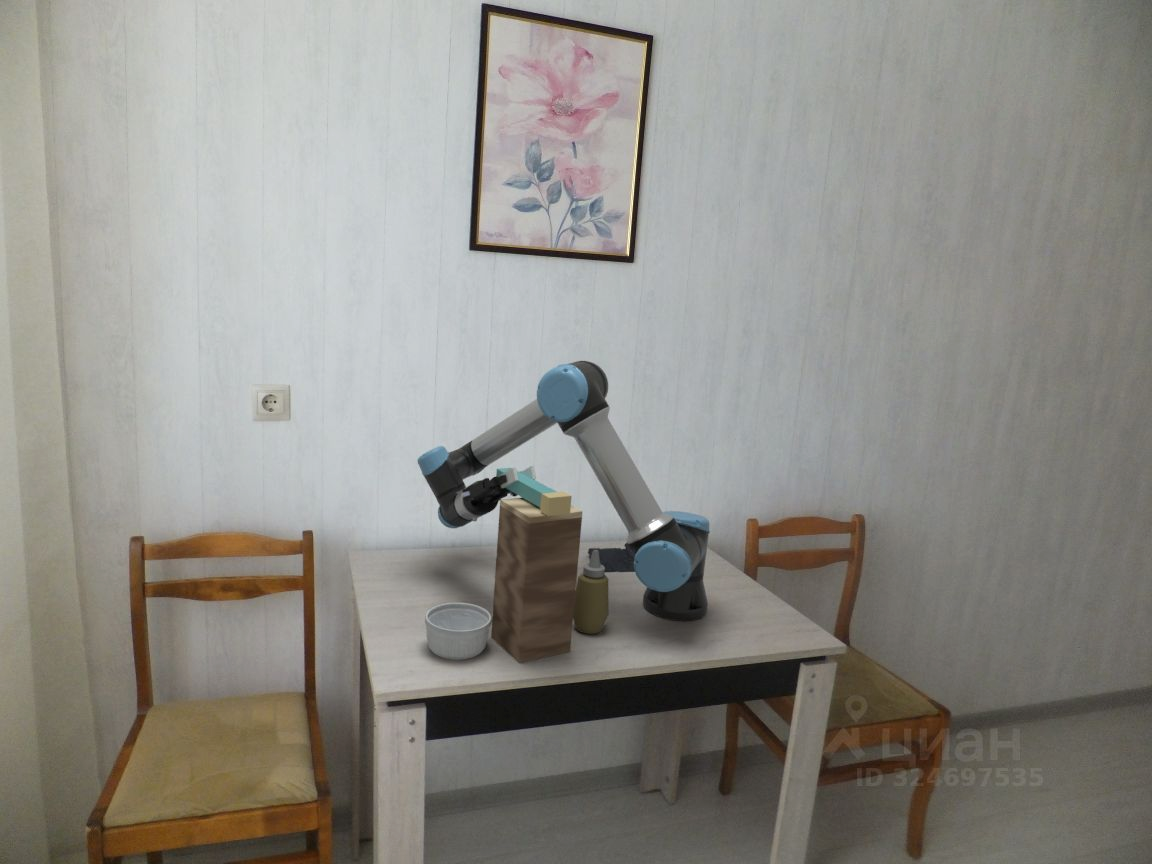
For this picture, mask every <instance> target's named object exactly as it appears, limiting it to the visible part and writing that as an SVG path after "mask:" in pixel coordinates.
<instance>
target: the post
mask: <svg viewBox="0 0 1152 864" xmlns="http://www.w3.org/2000/svg"><path fill="white" fill-rule="evenodd" d="M582 521H583V510H580V509H579V508H577V507H575V506H574V505H571V509H570V514H562V515H553V516H547V515H545V514H544V513H542V512H540V507H538V506H536V505H535V504H533V503H531V502H529V501H528V500H526V499H524V498H522V497H515V498H514V497H512V498H504V499H503V498H502V499H501V500H500V501H499V515H498V527H497V528H498V529H497V543H496V559H495V562H496V563H495V575H494V590H493V602H492V603H493V606H492V616H491V633H490V638H491V639H492V640H493V641H494V642H495V643H496V644H498V646H499V647H501V648H502V649H503V650H504V651H505V652H506V653H507V654H509V656H511V657H512V658H513V659H514V660H515V661H516V662H518V663H519V664H521V663H524V662H530V661H533V660H538V659H541V658H542V659H543V658H548V657H552V656H556V655H561V654H565V653H569V652H571V648H572V647H571V645H572V635H573V625H574V624H573V623H574V619H573V614H574V603H575V592H576V586H577V581H578V567H579V554H580V546H581V544H580V543H581V536H582V535H581V531H582Z"/></svg>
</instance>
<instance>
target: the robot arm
mask: <svg viewBox="0 0 1152 864" xmlns="http://www.w3.org/2000/svg"><path fill="white" fill-rule="evenodd" d="M606 374H607V373H605V371H604V370H603V369H602V367H600V366H599V365H597V364H596V363H595V362H591V361H589V360H577V361H573V362H571V363H564V364H559V365H557V366H555V367H553V368H551V369H549V370H548V371H546V372H545V373H544V375H543V376H542V377H541V378H540V380H539V382H538V385H537V389H536V399H534V400H533V401H531V402H530V403H528V404H527V405H525V406H523V407H522V408H520V409H519V410H517V411H516V412H514V413H512V414H511V415H509V416H508V417H506V418H504V419H503V420H502V421H500V422H498V423H497V424H495V425H493V426H492V427H491V428H489V429H488V430H486V431H484V432H483V433H481V434H480V435H478V436H477V437H475V438H474V439H472V440H470V441H468V442H467V443H466V444H464V445H462V446H460V447H459V448H458V449H455V450H453V451H450V452H449V451H448V450H447V449H446V447H445V446H443V445H439V446H436V447H434V448H432V449H430V450H428V451H426V452H425V453H422V455H420V456H419V457H418V459H417V464H418V466H419V468H420V471H421V474H422V476H423V477H424V479H425V481H426V482H427V485H428V486H429V489H430V490H431V491H432V494H433V495H434V497H435V499H436V501H437V503H438V505H439V506H438V509H437V517H438V519H439V521H440V523H441V524H442V525H443V526H445V527H446V528H449V529H458V528H460V527H461V528H462V527H464V526H466V525H468V524H470V523H471V522H477V521H478V518H481V517H483V516H485V515H487V514H489V513H490V512H491V513H492V511H494V510H495V509H496V507H497V506H498V504H499V502H500V500H502V499H503V498H504V499H505V498H507V497H508V495H510V497H511V496H512V497H513V498H514V497H515V498H516V497H517V496H518V495H517V494H515V493H514V492H512V491H510V490H508V489H507V488H505V487H507V486H509V485H511V484H512V483H514V482H516V481H518V476H517V471H518V470H517V467H510V468H511V469H510V470H508V471H506V472H505V473H503V474H501V475H500V476H499V477H496V476H494V477H492V478H491V479H490V478H489V477H485V478H483V479H482V480H476V481H474V482H472V483H471V484H469V485H467V486H466V483H465V482H464V480H466V479H467V478H470V477H472V476H475V475H477V474H478V475H479V473H481V472H482V471H484V469H486V468H487V467H488V466H489V465H491V464H493V463H495V462H496V461H498V460H499V459H501V458H503V457H505V456H506V455H507V454H509V453H512V451H514V450H515V449H517V448H520V446H522V445H524V444H526V443H528V442H529V441H530V440H531V439H534V438H535V437H538V436H539V435H540V434H542V433H543V432H545V431H547V430H549V429H550V428H552V427H554V426H555V425H557V424H558V427H559V428H560V429H561V431H562V434H563V435H566V436H568V437H572V438H573V439H574V441H576V444H577V445H578V448H579V449H580V451H581V452H582V454H583V455H584V458H585V459H586V461H587V462H588V464H589V466H590V467H591V469H592V471H593V472H594V475H595V476H596V478H597V480H598V482H599V483H600V485H601V487H602V488H603V490H604V492H605V494H606V495H607V497H608V499H609V500H610V502H611V504H612V506H613V508H614V509H615V511H616V513H617V515H618V516H619V518H620V519H621V521H622V524H623V525H624V526H625V528H626V531H627V532H628V536H627V540H626V543H627V544H628V546H629V548H630V549H631V551H632V553H633V555H634V556H635V558H634V570H635V572H634V573H635V574H636V575H635V576H636V578H638V580H639V581H640V583H642V585H644V587H646V588H645V590H644V594H643V599H642V606H643V608H644V609H645V610H646V611H647V612H649V613H650V614H652V615H654V616H656V617H660V618H663V619H666V620H672V621H679V622H683V621H685V622H687V621H690V622H691V621H696V620H701V619H702V618H703V617H705V616H706V615H707V613H708V605H709V604H708V602H709V601H708V597H707V592H706V587H705V584H704V583H705V582H704V575H705V565H706V561H707V560H706V559H707V558H706V557H707V550H708V542H709V535H710V532H711V530H710V521H709V519H708V518H706V517H705V516H702V515H700V514H696V513H692V512H686V511H685V512H684V511H679V510H665V511H662V509H661V507H660V506H659V503H658V502H657V500H656V499H655V497H654V495H653V494H652V492H651V490H650V488H649V487H648V485H647V483H646V481H645V480H644V478H643V477H642V475H641V472H640V471H639V469H638V468H637V466H636V464H635V461H633V459H632V457H631V455H630V454H629V452H628V450H627V448H626V447H625V445H624V444H623V441H622V440H621V438H620V436H619V435H618V433H617V431H616V430H615V428H614V426H613V425H612V423H611V421H610V419H609V413H610V410H611V407H610V405H609V403H608V402H607V400H606V397H607V396H608V393H609V381H608V377H607V375H606ZM519 472H520V473H522V474H524V475H526V476H528V477H530V478H532V479H534V480H536V479H537V475H536V471H535V466H534V465H533V466H529V467H527V468H525V469H524V470H521V471H519Z"/></svg>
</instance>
